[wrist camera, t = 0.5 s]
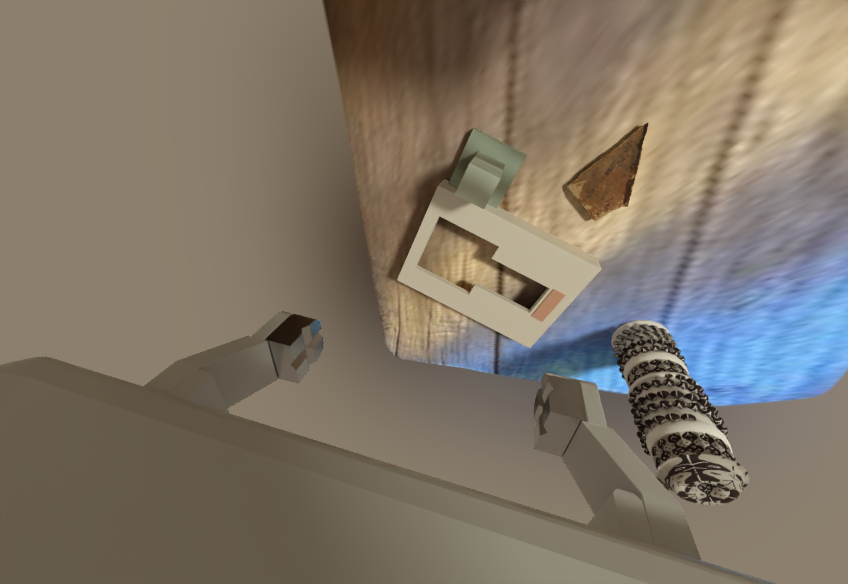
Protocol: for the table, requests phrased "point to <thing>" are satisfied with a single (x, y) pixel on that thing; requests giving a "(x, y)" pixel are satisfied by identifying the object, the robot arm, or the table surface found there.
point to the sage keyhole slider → (485, 170)
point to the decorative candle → (676, 417)
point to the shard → (610, 177)
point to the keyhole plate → (517, 250)
